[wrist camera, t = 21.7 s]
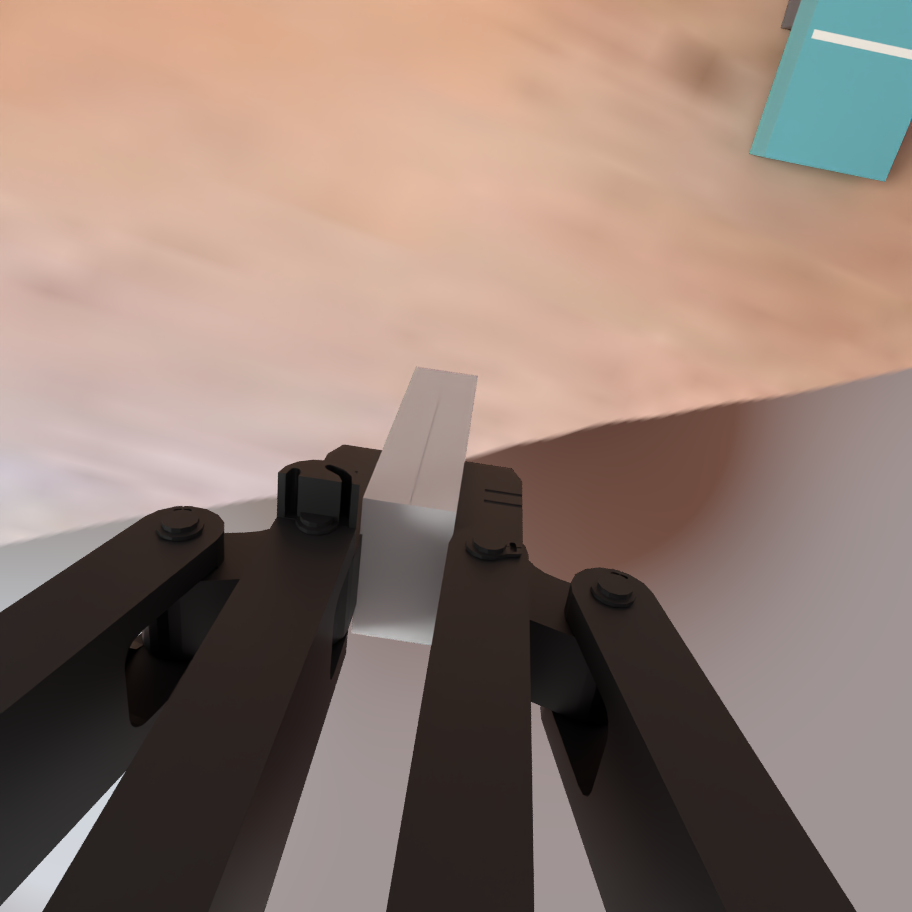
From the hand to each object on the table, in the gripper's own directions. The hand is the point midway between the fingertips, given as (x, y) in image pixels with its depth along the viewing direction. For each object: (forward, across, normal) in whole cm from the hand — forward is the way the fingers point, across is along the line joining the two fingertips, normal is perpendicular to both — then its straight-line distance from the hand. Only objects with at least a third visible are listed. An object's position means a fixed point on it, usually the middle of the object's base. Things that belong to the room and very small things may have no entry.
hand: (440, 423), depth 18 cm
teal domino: (+29, +18, +6) cm, 35 cm away
